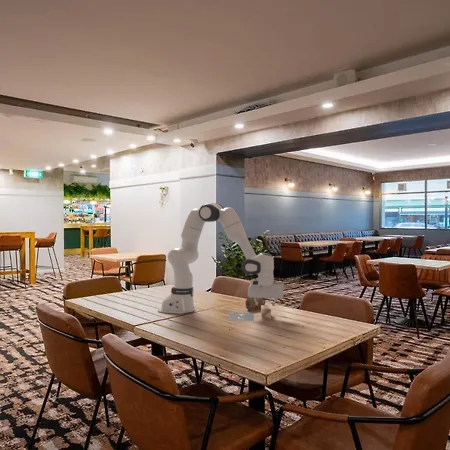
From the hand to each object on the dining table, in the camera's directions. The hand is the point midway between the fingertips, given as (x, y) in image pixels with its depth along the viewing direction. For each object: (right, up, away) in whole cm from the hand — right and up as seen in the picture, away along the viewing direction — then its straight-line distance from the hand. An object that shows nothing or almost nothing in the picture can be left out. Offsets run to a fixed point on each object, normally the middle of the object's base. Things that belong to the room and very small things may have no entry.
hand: (265, 305), depth 231 cm
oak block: (0, -7, 0) cm, 7 cm away
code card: (-13, -7, +1) cm, 15 cm away
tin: (-4, -7, +20) cm, 22 cm away
